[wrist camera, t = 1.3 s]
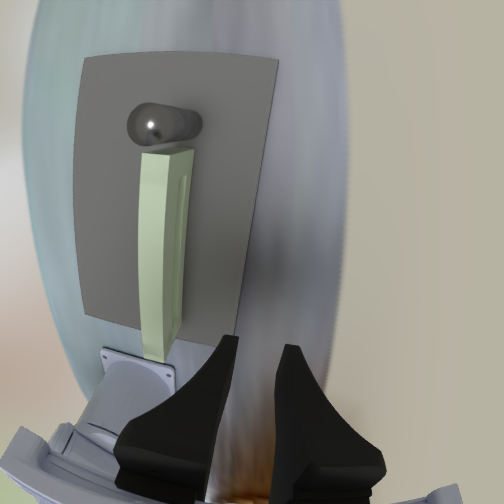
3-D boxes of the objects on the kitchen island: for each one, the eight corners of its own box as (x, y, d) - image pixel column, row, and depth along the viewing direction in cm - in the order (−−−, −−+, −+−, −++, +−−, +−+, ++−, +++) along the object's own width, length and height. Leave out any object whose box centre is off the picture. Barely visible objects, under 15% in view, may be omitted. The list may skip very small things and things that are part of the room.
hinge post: (202, 140, 18) (165, 148, 12) (173, 138, 18) (124, 145, 12) (206, 111, 18) (170, 103, 11) (177, 108, 18) (129, 102, 11)
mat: (231, 345, 25) (231, 349, 24) (87, 311, 25) (84, 314, 24) (278, 61, 16) (278, 59, 16) (88, 58, 16) (84, 57, 16)
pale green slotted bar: (181, 323, 23) (164, 363, 19) (163, 319, 23) (143, 357, 19) (194, 148, 18) (169, 155, 14) (172, 146, 18) (141, 153, 14)
